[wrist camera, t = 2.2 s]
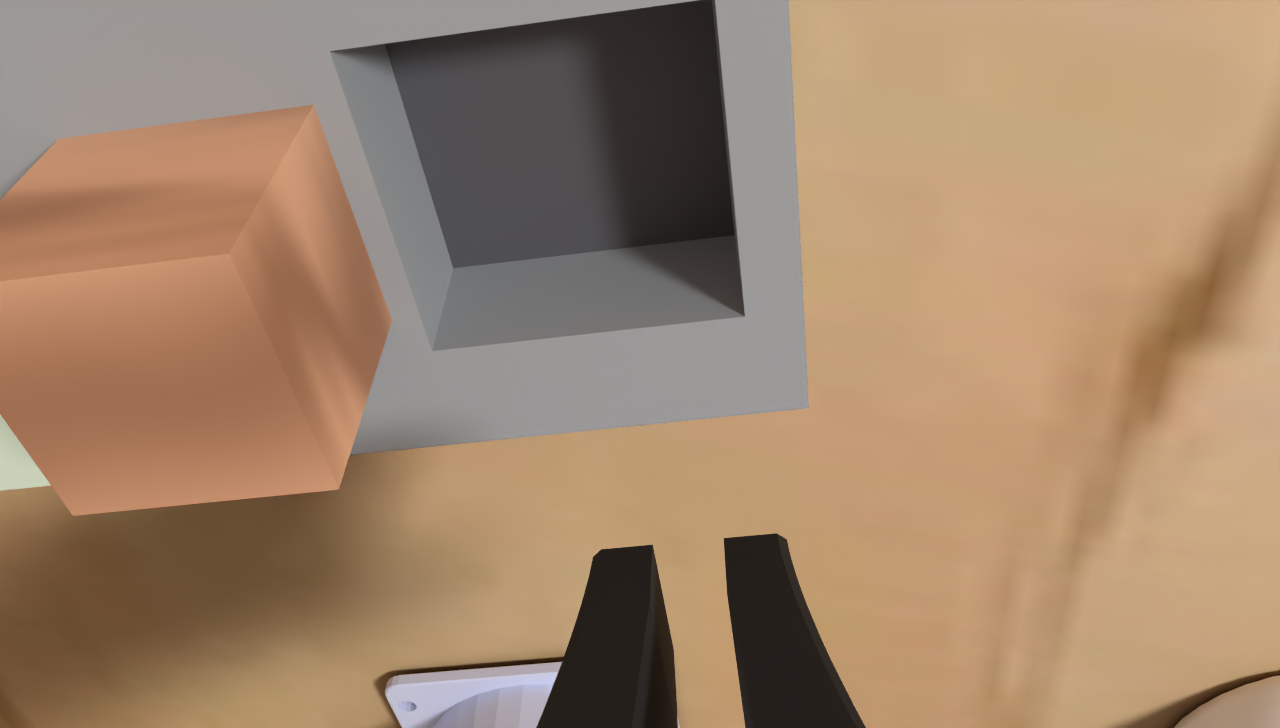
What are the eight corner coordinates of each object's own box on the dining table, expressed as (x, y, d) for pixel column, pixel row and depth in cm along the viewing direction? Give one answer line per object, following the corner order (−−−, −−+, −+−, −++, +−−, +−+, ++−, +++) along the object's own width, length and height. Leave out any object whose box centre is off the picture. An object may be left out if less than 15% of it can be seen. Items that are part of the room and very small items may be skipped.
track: (790, 311, 21) (808, 408, 19) (-350, 437, 24) (-459, 537, 21) (757, -239, 15) (778, -195, 13) (-790, 7, 17) (-1011, 82, 15)
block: (392, 320, 18) (338, 489, 15) (170, 345, 18) (72, 515, 15) (313, 104, 15) (229, 253, 12) (58, 138, 16) (-88, 291, 12)
